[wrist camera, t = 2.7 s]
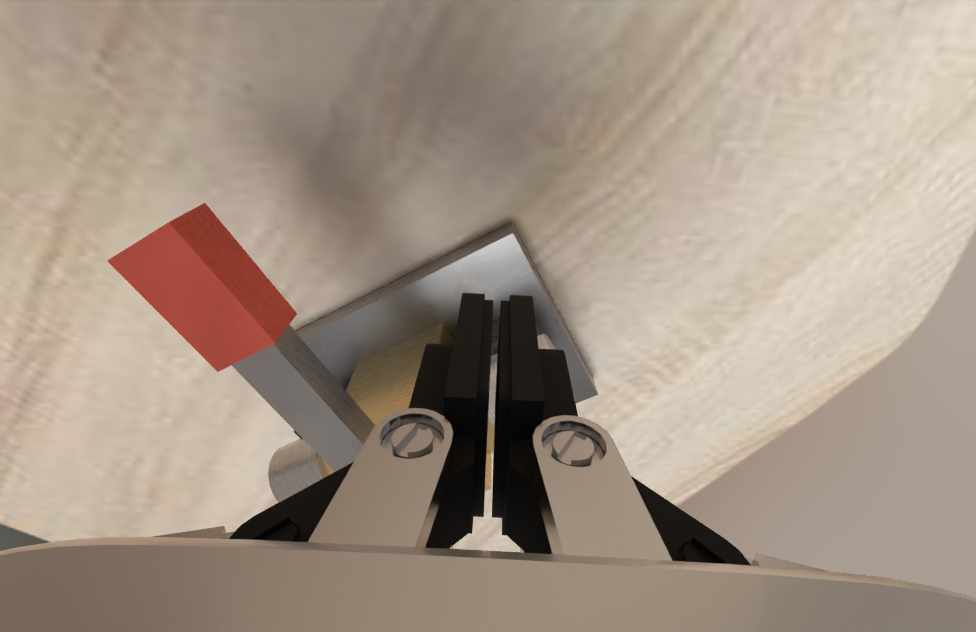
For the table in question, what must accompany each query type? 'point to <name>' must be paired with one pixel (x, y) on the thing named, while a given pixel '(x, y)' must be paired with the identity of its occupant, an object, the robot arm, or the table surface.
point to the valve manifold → (422, 340)
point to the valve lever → (243, 327)
